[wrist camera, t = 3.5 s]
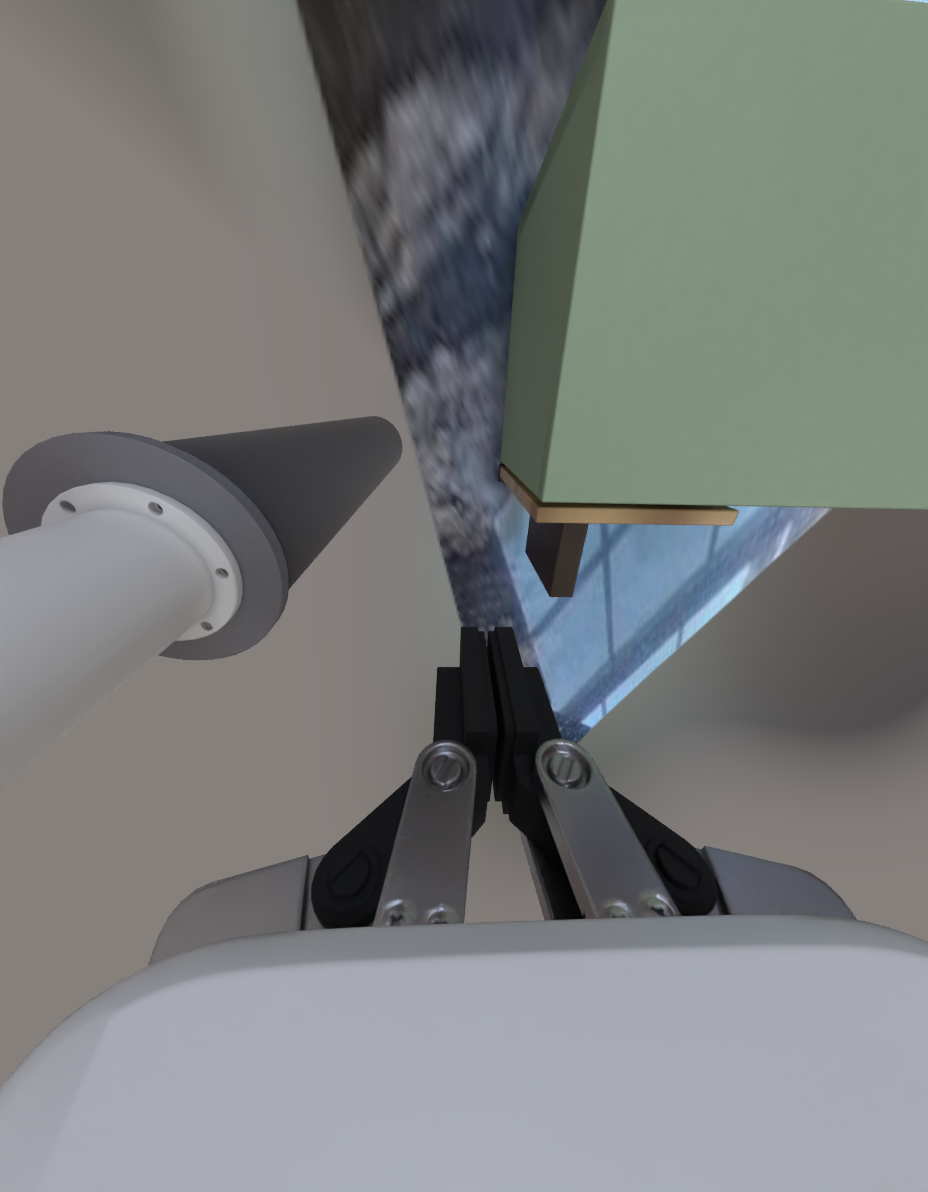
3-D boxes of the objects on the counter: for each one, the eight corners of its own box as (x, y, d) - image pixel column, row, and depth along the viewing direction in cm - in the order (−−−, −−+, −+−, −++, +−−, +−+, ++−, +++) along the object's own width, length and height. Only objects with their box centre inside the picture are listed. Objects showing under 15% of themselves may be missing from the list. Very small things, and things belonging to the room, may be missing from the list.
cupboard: (498, 481, 24) (536, 535, 14) (518, 222, 18) (620, -35, 7) (729, 486, 25) (925, 540, 15) (830, 243, 19) (1304, 42, 8)
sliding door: (495, 530, 26) (524, 602, 16) (500, 466, 23) (537, 507, 14) (607, 531, 26) (699, 602, 17) (623, 469, 24) (740, 510, 14)
